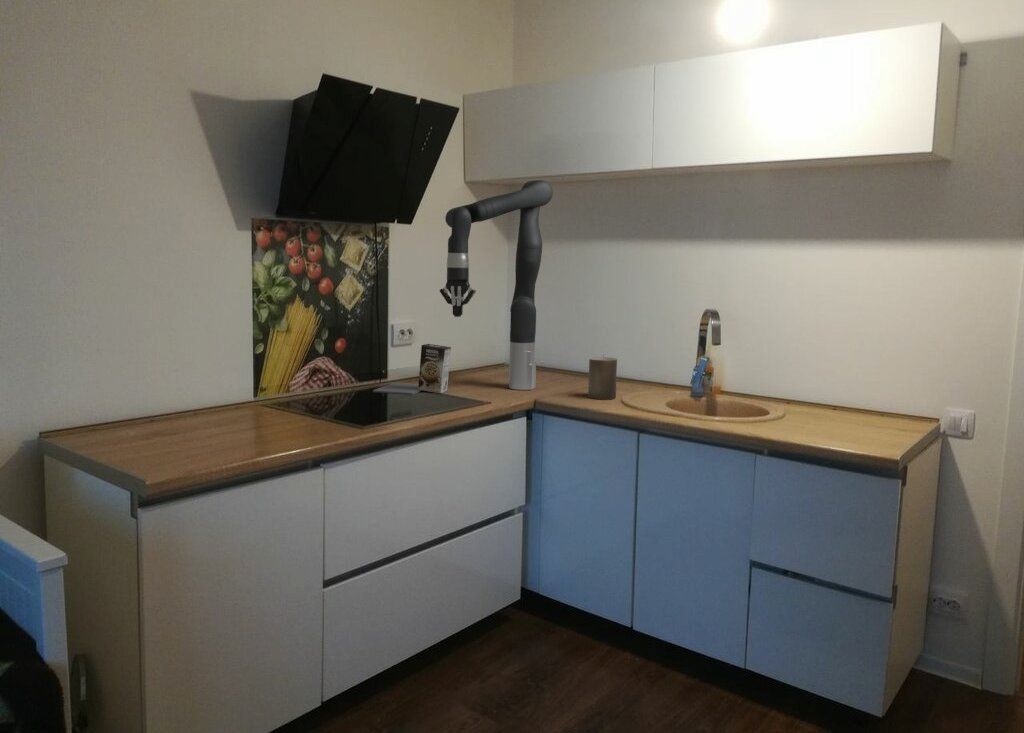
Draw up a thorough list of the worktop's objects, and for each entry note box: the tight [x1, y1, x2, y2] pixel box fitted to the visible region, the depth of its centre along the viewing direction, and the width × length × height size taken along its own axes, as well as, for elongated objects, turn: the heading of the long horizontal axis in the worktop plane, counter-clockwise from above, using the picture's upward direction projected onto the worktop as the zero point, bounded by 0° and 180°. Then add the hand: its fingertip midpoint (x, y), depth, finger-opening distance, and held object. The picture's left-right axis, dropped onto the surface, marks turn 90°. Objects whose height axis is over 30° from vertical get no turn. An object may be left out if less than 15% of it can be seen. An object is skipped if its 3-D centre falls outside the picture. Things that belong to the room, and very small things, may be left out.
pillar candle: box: [587, 354, 618, 401], centre depth 263 cm, size 10×10×15 cm
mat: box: [372, 382, 424, 396], centre depth 272 cm, size 15×18×1 cm
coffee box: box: [417, 343, 452, 394], centre depth 268 cm, size 9×6×16 cm
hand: (457, 316), depth 263 cm, fingers closed
